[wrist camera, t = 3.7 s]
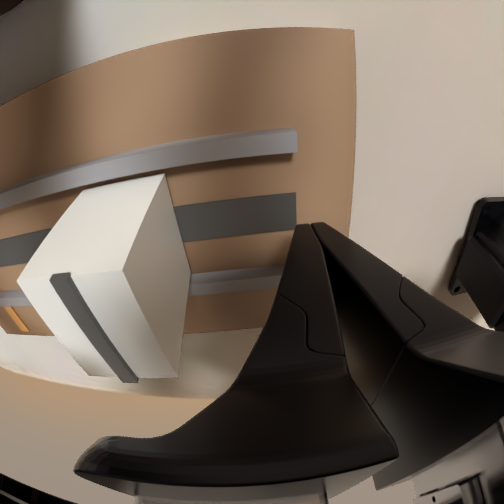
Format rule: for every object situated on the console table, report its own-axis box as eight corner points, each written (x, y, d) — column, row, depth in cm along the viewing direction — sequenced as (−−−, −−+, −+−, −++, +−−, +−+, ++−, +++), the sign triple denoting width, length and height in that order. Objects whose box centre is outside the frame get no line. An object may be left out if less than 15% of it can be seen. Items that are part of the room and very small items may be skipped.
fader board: (337, 31, 8) (376, 28, 5) (329, 294, 15) (344, 342, 13) (-68, 157, 8) (-102, 184, 6) (15, 316, 15) (-1, 351, 13)
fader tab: (164, 172, 9) (119, 273, 5) (191, 272, 11) (178, 383, 8) (82, 188, 9) (12, 283, 5) (120, 279, 11) (88, 380, 8)
